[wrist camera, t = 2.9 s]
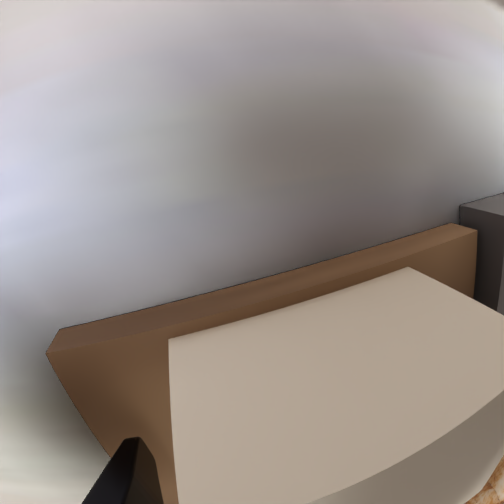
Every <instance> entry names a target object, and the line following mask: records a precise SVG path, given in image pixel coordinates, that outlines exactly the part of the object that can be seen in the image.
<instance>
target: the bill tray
mask: <svg viewBox="0 0 504 504" xmlns="http://www.w3.org/2000/svg"><path fill="white" fill-rule="evenodd" d="M460 225H461V226H464V227H468V228H471V229H475V230H477V257H476V273H475V285H474V295H473V299H474V300H476V301H478V302H480V303H481V304H483V305H485V306H487V307H489V308H491V309H493V310H495V311H496V312H498V313H500V314H502V315H504V193H502V194H498V195H495V196H491V197H488V198H484V199H480V200H477V201H473V202H470V203H466V204H463V205H460Z"/></svg>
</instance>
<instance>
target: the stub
mask: <svg viewBox="0 0 504 504" xmlns="http://www.w3.org/2000/svg"><path fill="white" fill-rule="evenodd" d="M168 340H169V383H170V406H171V423H172V438H173V451H174V463H175V473H176V483H177V492H178V501H179V504H464V503H466V502H467V501H468V500H470V499H471V498H472V497H474V496H475V495H476V494H477V493H479V492H480V491H481V490H482V488H483V487H484V485H485V484H486V482H487V481H488V479H489V478H490V476H491V475H492V473H493V472H494V470H495V468H496V467H497V465H498V463H499V462H500V460H501V458H502V457H503V455H504V315H502V314H500V313H498V312H496V311H495V310H493V309H491V308H489V307H487V306H485V305H483V304H481V303H480V302H478V301H476V300H474V299H472V298H470V297H468V296H466V295H464V294H462V293H460V292H458V291H456V290H454V289H452V288H450V287H449V286H447V285H445V284H443V283H441V282H439V281H437V280H435V279H433V278H431V277H428V276H426V275H424V274H422V273H420V272H418V271H416V270H414V269H412V268H410V267H405V268H403V269H400V270H397V271H394V272H391V273H389V274H386V275H383V276H380V277H377V278H374V279H371V280H369V281H366V282H363V283H360V284H357V285H354V286H351V287H348V288H345V289H342V290H339V291H336V292H333V293H330V294H326V295H323V296H320V297H317V298H314V299H311V300H307V301H304V302H301V303H298V304H294V305H291V306H288V307H285V308H281V309H278V310H274V311H271V312H268V313H264V314H261V315H257V316H254V317H250V318H247V319H243V320H240V321H236V322H232V323H229V324H225V325H221V326H218V327H214V328H210V329H206V330H202V331H199V332H195V333H191V334H187V335H183V336H179V337H175V338H171V339H168Z"/></svg>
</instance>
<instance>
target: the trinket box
mask: <svg viewBox="0 0 504 504" xmlns="http://www.w3.org/2000/svg"><path fill="white" fill-rule="evenodd" d="M464 504H504V455H503V457H502V458H501V460H500V462H499V463H498V465H497V467H496V468H495V470H494V472H493V473H492V475H491V476H490V478H489V479H488V481H487V482H486V484H485V485H484V487H483V488H482V490H481V491H480V492H479V493H477V494H476V495H475V496H474V497H472V498H471V499H470V500H468V501H467V502H466V503H464Z"/></svg>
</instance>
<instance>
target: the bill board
mask: <svg viewBox="0 0 504 504" xmlns="http://www.w3.org/2000/svg"><path fill="white" fill-rule="evenodd" d="M476 257H477V230H475V229H471V228H468V227H464V226H461V225H457V224H454V223H449V224H445V225H442V226H439V227H436V228H433V229H430V230H426V231H423V232H420V233H417V234H414V235H410V236H407V237H404V238H401V239H397V240H394V241H391V242H387V243H384V244H381V245H377V246H374V247H371V248H367V249H364V250H361V251H357V252H354V253H351V254H347V255H344V256H340V257H337V258H333V259H330V260H327V261H323V262H320V263H316V264H313V265H309V266H306V267H302V268H298V269H295V270H291V271H288V272H284V273H281V274H277V275H273V276H270V277H266V278H262V279H259V280H255V281H251V282H248V283H244V284H240V285H237V286H233V287H229V288H225V289H222V290H218V291H214V292H210V293H206V294H203V295H199V296H195V297H191V298H187V299H183V300H179V301H176V302H172V303H168V304H164V305H160V306H156V307H152V308H148V309H144V310H140V311H136V312H132V313H127V314H123V315H119V316H115V317H111V318H107V319H103V320H98V321H94V322H90V323H86V324H81V325H77V326H73V327H68V328H64V329H59V331H58V332H57V334H56V336H55V338H54V339H53V341H52V343H51V344H50V346H49V348H48V350H47V352H46V355H47V357H48V359H49V361H50V363H51V365H52V367H53V369H54V371H55V373H56V374H57V376H58V378H59V380H60V382H61V383H62V385H63V387H64V388H65V390H66V392H67V394H68V395H69V397H70V399H71V400H72V402H73V404H74V405H75V407H76V408H77V410H78V411H79V413H80V415H81V416H82V418H83V419H84V421H85V422H86V424H87V425H88V427H89V428H90V430H91V431H92V433H93V434H94V436H95V437H96V438H97V440H98V441H99V443H100V444H101V445H102V447H103V448H104V449H105V451H106V452H107V453H108V455H109V456H110V457H111V458H112V456H113V455H114V453H115V452H116V450H117V449H118V447H119V446H120V444H121V443H122V441H123V440H124V439H126V438H131V437H137V436H138V437H141V438H142V439H143V441H144V442H145V444H146V445H147V447H148V448H149V450H150V452H151V453H152V455H153V456H154V459H155V462H156V466H157V472H158V477H159V482H160V487H161V492H162V497H163V502H164V504H179V501H178V492H177V483H176V473H175V463H174V451H173V438H172V423H171V406H170V383H169V340H168V339H171V338H175V337H179V336H183V335H187V334H191V333H195V332H199V331H202V330H206V329H210V328H214V327H218V326H221V325H225V324H229V323H232V322H236V321H240V320H243V319H247V318H250V317H254V316H257V315H261V314H264V313H268V312H271V311H274V310H278V309H281V308H285V307H288V306H291V305H294V304H298V303H301V302H304V301H307V300H311V299H314V298H317V297H320V296H323V295H326V294H330V293H333V292H336V291H339V290H342V289H345V288H348V287H351V286H354V285H357V284H360V283H363V282H366V281H369V280H371V279H374V278H377V277H380V276H383V275H386V274H389V273H391V272H394V271H397V270H400V269H403V268H405V267H410V268H412V269H414V270H416V271H418V272H420V273H422V274H424V275H426V276H428V277H431V278H433V279H435V280H437V281H439V282H441V283H443V284H445V285H447V286H449V287H450V288H452V289H454V290H456V291H458V292H460V293H462V294H464V295H466V296H468V297H470V298H472V299H473V295H474V285H475V273H476Z"/></svg>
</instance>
